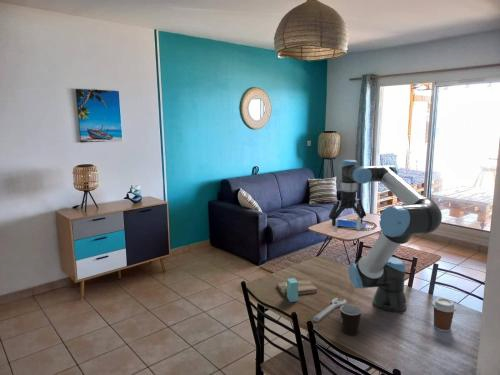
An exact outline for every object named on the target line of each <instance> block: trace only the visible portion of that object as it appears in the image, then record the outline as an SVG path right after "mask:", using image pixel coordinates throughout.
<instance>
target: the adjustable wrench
mask: <svg viewBox="0 0 500 375" xmlns="http://www.w3.org/2000/svg"><path fill="white" fill-rule="evenodd" d="M343 305H347V300H346V299H345V298H343V300H339V298H338V297H336V298H333V299H330V305H329V306H327V307H326V308H324V309H323V310H322V311H320V312H319V313H318V314H316V315H315V316H313V317H312V319H313V320H312V321H313V322H316V323H317V322H318V323H319V322H320V321H321V320H322V319H324V318H325V317H327V316H328V315H329V314H330V313H331V312H333V311H334V310H335V309H336V308H340V307H341V306H343Z"/></svg>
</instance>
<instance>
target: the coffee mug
mask: <svg viewBox="0 0 500 375" xmlns="http://www.w3.org/2000/svg"><path fill="white" fill-rule="evenodd" d="M339 308H340V310H339V311H340V320H341V332H342V333H343V334H344V335H347V336H351V337H352V336H357V334H358V333H359V332H358V331H359V328H360V321H361V316H362V312H363V310H362V309H361V307H359V306H358V305H355V304H346V305H343V306H340V307H339Z"/></svg>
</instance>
